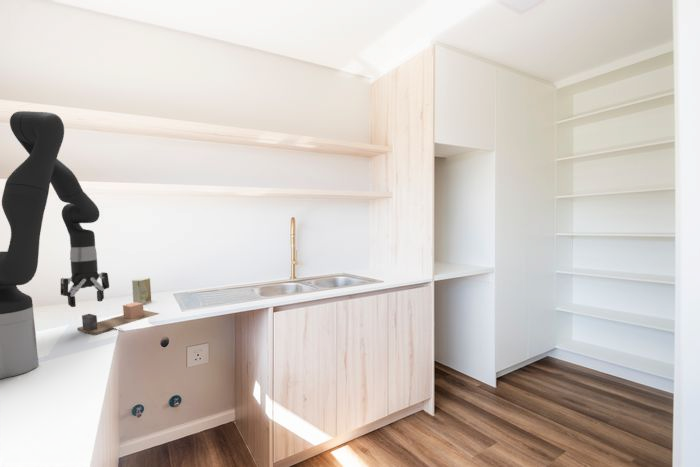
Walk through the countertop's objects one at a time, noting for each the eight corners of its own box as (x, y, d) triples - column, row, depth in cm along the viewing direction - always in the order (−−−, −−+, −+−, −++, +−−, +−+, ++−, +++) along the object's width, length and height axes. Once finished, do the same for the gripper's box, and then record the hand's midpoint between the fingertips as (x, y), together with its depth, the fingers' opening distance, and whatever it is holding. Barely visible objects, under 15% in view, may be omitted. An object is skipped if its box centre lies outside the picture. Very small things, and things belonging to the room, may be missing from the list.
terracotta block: (131, 319, 137) (130, 306, 136) (123, 317, 139) (123, 305, 139) (143, 315, 141) (142, 303, 141) (136, 313, 143) (135, 302, 143)
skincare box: (141, 307, 156) (139, 280, 155) (133, 307, 156) (131, 280, 155) (152, 303, 162) (150, 277, 161) (144, 303, 163) (142, 277, 162)
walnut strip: (94, 335, 122) (93, 319, 122) (77, 329, 128) (76, 314, 128) (159, 315, 143) (158, 301, 143) (142, 311, 149) (141, 298, 149)
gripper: (65, 262, 116) (68, 310, 117) (111, 257, 129) (113, 300, 130) (54, 261, 120) (58, 307, 121) (100, 256, 132) (103, 298, 133)
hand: (86, 303), depth 125 cm, fingers open, 8 cm apart
